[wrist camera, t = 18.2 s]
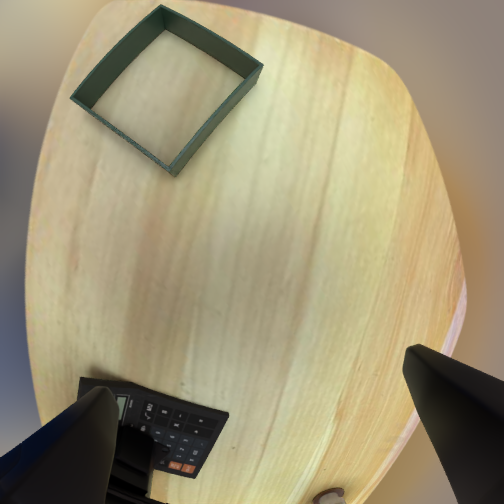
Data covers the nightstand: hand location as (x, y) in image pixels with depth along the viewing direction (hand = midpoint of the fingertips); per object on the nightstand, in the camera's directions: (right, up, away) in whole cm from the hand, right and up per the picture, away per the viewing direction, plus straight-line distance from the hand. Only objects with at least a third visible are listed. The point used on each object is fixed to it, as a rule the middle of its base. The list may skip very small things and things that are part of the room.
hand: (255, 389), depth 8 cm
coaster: (+9, -26, +18) cm, 32 cm away
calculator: (-9, -11, +13) cm, 20 cm away
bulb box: (-6, +14, +9) cm, 18 cm away
